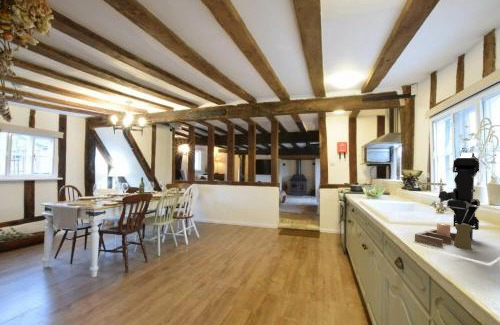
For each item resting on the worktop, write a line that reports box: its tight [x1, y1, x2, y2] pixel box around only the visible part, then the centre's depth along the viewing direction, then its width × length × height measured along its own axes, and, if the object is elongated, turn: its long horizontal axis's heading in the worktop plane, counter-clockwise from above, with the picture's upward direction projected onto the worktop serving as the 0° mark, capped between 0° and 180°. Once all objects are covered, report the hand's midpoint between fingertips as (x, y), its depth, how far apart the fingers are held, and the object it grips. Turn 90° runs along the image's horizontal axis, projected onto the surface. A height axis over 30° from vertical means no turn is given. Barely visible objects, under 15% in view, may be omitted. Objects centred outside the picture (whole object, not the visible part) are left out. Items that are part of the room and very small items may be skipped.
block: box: [436, 222, 451, 236], centre depth 115 cm, size 5×5×7 cm
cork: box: [453, 223, 473, 251], centre depth 104 cm, size 6×6×11 cm
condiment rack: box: [414, 228, 456, 248], centre depth 113 cm, size 20×10×4 cm, turn 124°
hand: (463, 223), depth 105 cm, fingers open, 9 cm apart
